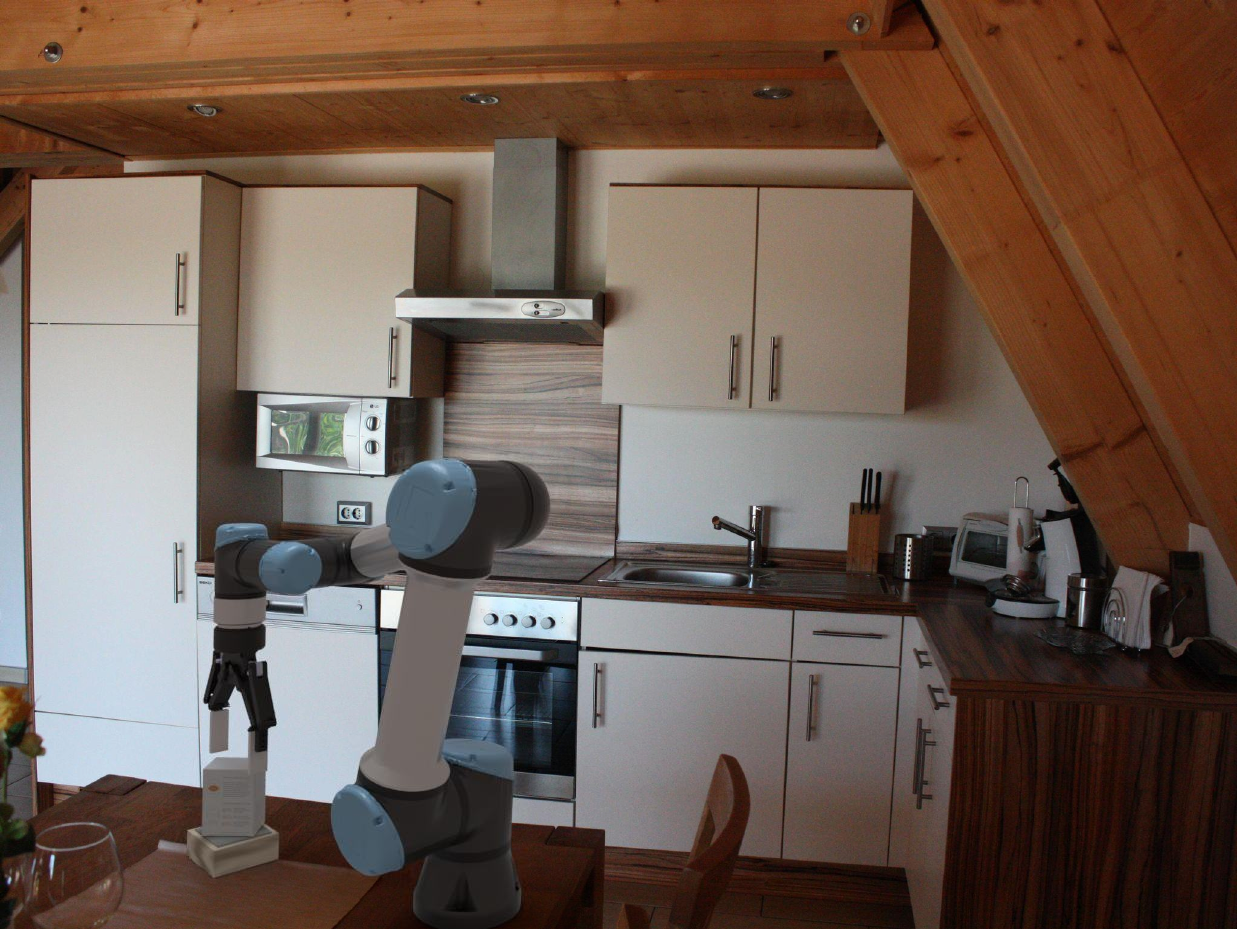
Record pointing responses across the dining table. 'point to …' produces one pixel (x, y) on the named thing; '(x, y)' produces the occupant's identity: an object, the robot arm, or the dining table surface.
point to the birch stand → (232, 850)
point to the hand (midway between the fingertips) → (237, 761)
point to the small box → (232, 798)
